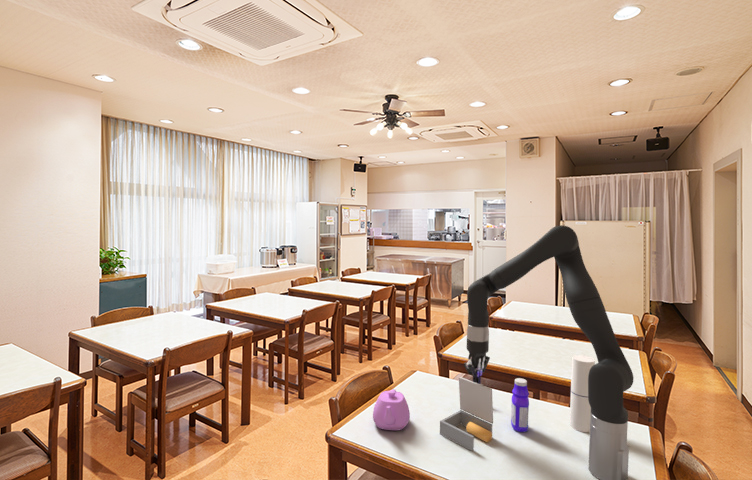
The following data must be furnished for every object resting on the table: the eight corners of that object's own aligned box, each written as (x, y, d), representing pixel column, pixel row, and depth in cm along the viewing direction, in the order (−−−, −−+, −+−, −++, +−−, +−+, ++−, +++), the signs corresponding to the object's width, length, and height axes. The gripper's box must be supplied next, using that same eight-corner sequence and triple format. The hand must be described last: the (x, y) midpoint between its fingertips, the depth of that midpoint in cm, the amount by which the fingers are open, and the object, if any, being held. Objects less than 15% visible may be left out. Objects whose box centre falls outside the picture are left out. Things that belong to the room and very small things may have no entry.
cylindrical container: (569, 428, 134) (572, 359, 133) (569, 419, 140) (572, 353, 139) (592, 434, 131) (595, 363, 130) (591, 424, 137) (594, 357, 136)
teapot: (376, 410, 146) (376, 380, 145) (410, 412, 144) (411, 382, 143) (368, 438, 126) (368, 404, 125) (407, 442, 124) (408, 407, 124)
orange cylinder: (489, 444, 125) (493, 434, 127) (484, 440, 123) (489, 429, 125) (469, 433, 131) (473, 424, 133) (464, 429, 130) (469, 419, 131)
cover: (491, 424, 127) (494, 422, 128) (490, 389, 126) (492, 388, 127) (460, 409, 137) (462, 408, 138) (458, 377, 136) (460, 376, 137)
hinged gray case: (492, 437, 128) (492, 424, 128) (471, 451, 120) (472, 437, 120) (460, 422, 137) (460, 410, 137) (439, 433, 130) (439, 421, 129)
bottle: (529, 434, 130) (531, 385, 129) (512, 432, 131) (514, 383, 130) (525, 423, 137) (527, 376, 136) (509, 421, 138) (510, 375, 138)
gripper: (479, 331, 139) (478, 377, 140) (457, 338, 131) (456, 387, 131) (497, 336, 134) (496, 384, 135) (476, 344, 125) (474, 394, 126)
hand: (476, 385), depth 133 cm, fingers closed
